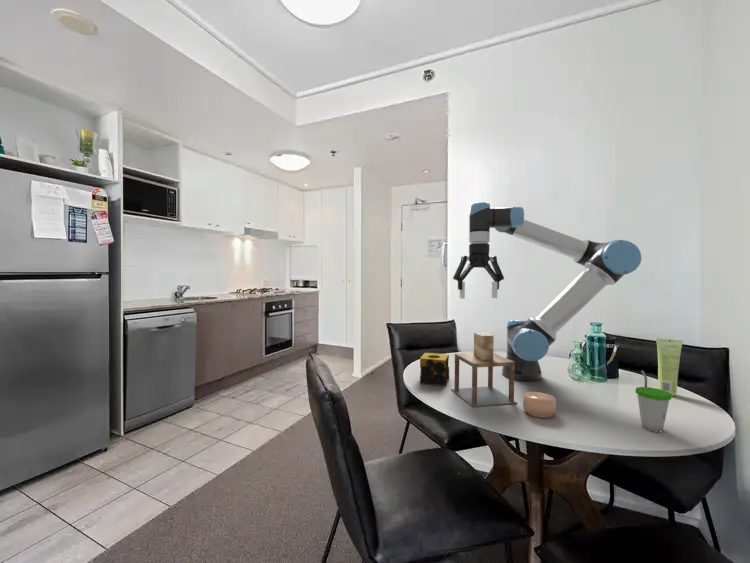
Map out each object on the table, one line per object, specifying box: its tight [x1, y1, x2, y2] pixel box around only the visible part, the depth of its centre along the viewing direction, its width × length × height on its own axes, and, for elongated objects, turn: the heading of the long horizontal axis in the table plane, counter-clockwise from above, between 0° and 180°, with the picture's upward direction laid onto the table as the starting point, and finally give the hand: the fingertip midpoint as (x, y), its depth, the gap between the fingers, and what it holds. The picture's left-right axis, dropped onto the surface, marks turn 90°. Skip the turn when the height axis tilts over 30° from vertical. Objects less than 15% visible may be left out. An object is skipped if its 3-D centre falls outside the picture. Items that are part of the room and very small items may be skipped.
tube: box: [655, 338, 684, 397], centre depth 122 cm, size 6×5×20 cm
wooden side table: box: [453, 332, 515, 405], centre depth 118 cm, size 14×14×21 cm
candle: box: [419, 352, 450, 387], centre depth 135 cm, size 10×10×10 cm
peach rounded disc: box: [522, 391, 557, 419], centre depth 105 cm, size 9×9×5 cm
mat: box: [450, 386, 518, 408], centre depth 118 cm, size 16×16×1 cm
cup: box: [635, 370, 673, 433], centre depth 95 cm, size 8×8×15 cm
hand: (478, 298), depth 133 cm, fingers open, 13 cm apart
